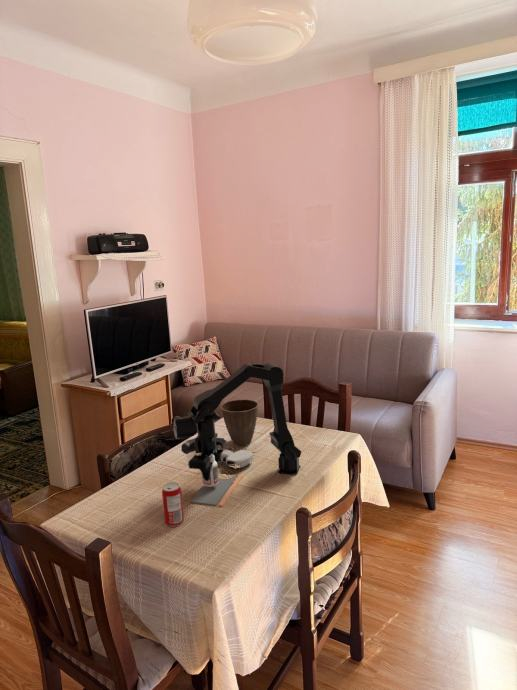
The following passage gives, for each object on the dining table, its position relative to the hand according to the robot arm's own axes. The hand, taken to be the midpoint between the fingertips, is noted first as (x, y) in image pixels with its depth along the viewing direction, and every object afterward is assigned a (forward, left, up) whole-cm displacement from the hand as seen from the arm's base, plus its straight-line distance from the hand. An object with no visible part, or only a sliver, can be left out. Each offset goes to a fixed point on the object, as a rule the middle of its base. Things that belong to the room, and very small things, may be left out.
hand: (210, 476), depth 164 cm
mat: (-1, 0, -4) cm, 5 cm away
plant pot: (+2, -38, -5) cm, 38 cm away
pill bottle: (0, 0, -3) cm, 3 cm away
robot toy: (-1, -19, -5) cm, 20 cm away
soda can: (+3, +21, -5) cm, 22 cm away
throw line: (-7, 0, -4) cm, 9 cm away
